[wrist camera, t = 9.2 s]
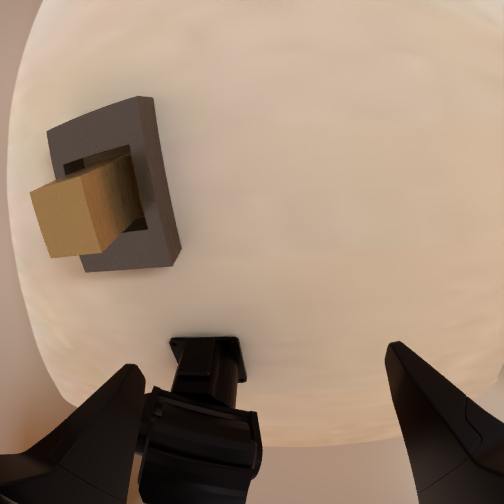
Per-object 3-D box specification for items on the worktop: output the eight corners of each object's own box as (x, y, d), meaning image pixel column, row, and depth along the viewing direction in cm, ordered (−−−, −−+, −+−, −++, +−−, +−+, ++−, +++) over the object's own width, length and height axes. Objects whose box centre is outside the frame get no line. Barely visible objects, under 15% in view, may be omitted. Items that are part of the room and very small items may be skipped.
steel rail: (181, 248, 20) (172, 266, 18) (100, 256, 21) (85, 272, 19) (153, 97, 15) (137, 96, 13) (66, 127, 16) (46, 131, 14)
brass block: (149, 206, 19) (101, 252, 13) (104, 214, 19) (50, 258, 13) (138, 152, 17) (80, 176, 11) (92, 164, 17) (29, 192, 11)
